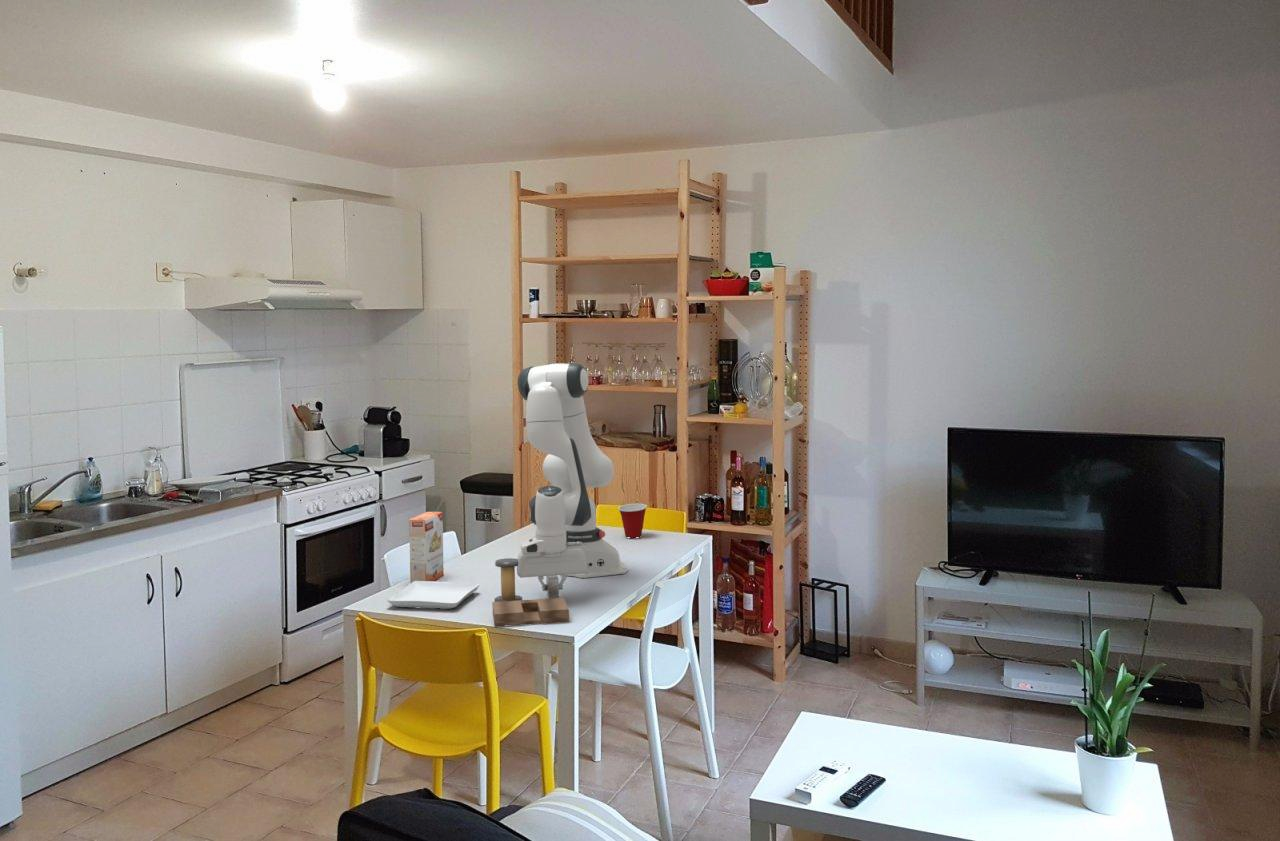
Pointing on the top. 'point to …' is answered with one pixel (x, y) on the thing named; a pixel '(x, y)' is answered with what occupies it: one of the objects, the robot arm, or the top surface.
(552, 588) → the steel tab
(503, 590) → the bobbin
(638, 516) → the plastic cup
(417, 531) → the cracker box
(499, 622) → the notched board
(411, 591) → the salad plate
